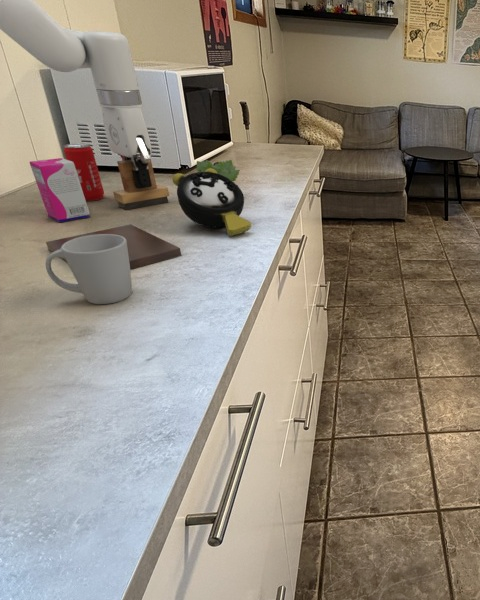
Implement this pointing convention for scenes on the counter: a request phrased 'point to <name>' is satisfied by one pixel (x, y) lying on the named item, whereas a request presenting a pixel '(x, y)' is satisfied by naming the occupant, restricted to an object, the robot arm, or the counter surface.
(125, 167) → the brush
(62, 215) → the supplement box
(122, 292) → the cup
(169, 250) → the cutting board
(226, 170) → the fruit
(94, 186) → the beverage can
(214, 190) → the alarm clock
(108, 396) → the counter surface
